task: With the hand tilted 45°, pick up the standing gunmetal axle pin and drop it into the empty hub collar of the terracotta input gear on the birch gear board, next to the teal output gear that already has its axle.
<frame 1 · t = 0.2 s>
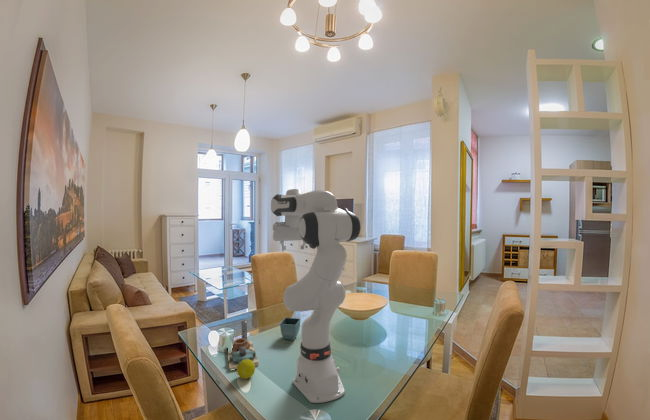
hand: (293, 249, 146), 48 cm above the table, tool pointing down, fingers open, 8 cm apart
axle pin: (244, 340, 151), on the table
flower pot: (290, 338, 154), on the table
tennis ball: (246, 377, 119), on the table
gear board: (241, 356, 135), on the table
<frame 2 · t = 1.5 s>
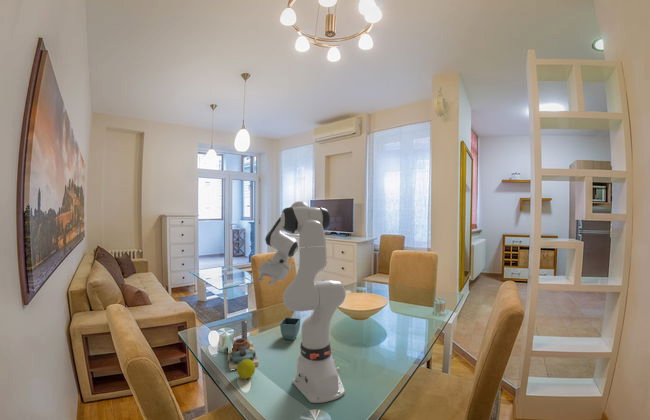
hand: (264, 283, 160), 28 cm above the table, tool tilted 45°, fingers open, 8 cm apart
nothing on the table moved.
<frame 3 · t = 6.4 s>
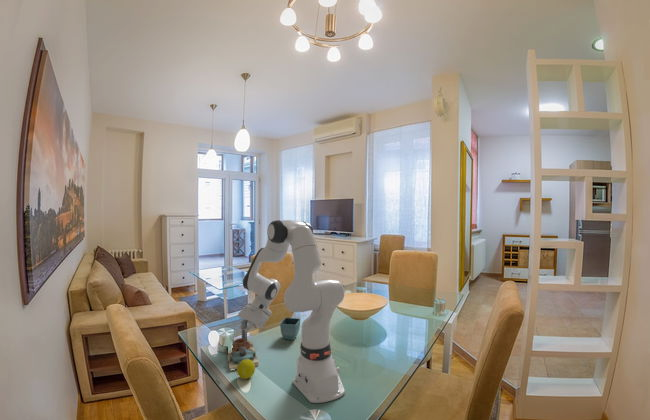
hand: (243, 330, 151), 6 cm above the table, tool tilted 45°, fingers closed on axle pin, 3 cm apart
axle pin: (244, 340, 151), on the table, touching gripper
everything else where it was.
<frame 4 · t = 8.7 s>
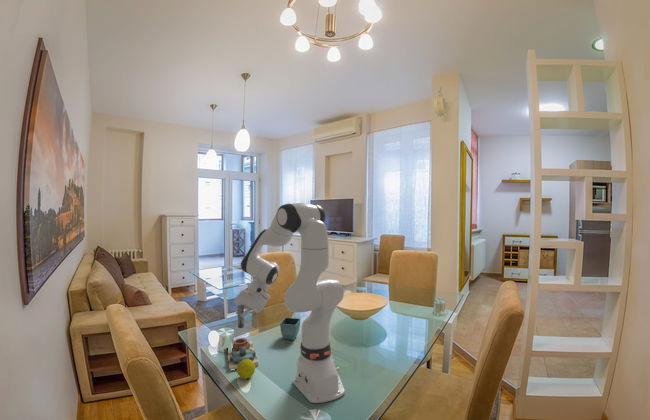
hand: (239, 315, 140), 17 cm above the table, tool tilted 45°, fingers closed on axle pin, 3 cm apart
axle pin: (240, 327, 140), point 12 cm above the table, touching gripper
everything else where it was.
when the fingers open (9 cm above the table, at t = 11.0 s): axle pin drops 2 cm, resting on gear board.
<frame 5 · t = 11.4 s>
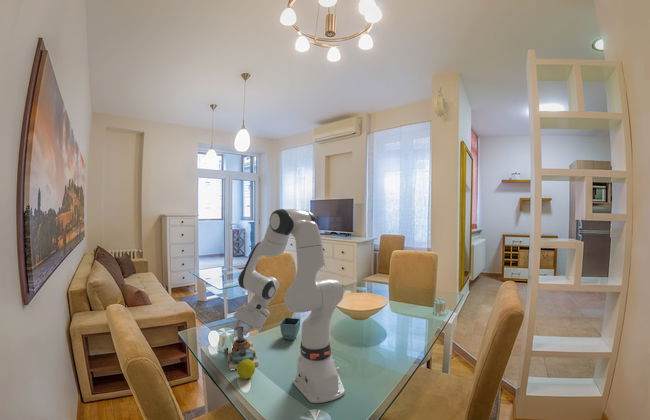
hand: (239, 332, 140), 9 cm above the table, tool tilted 45°, fingers open, 7 cm apart
axle pin: (240, 348, 140), point 2 cm above the table, touching gear board
everything else where it was.
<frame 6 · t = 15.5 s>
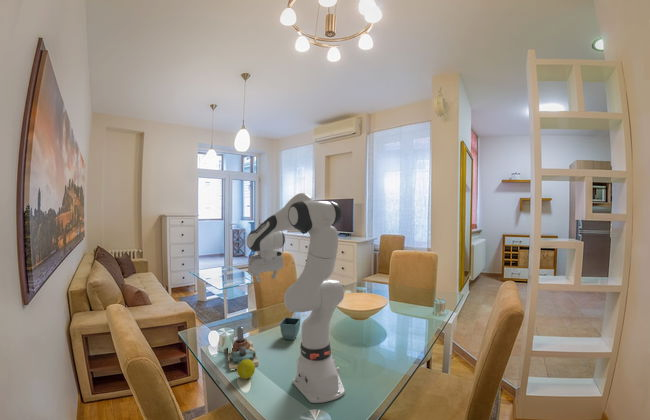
hand: (266, 280, 152), 31 cm above the table, tool pointing down, fingers open, 8 cm apart
nothing on the table moved.
at the end: axle pin 0.1 cm from the target spot on the gear board, point 1.5 cm above the gear board's base; axle pin tilted 1°; the gripper is holding nothing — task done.
